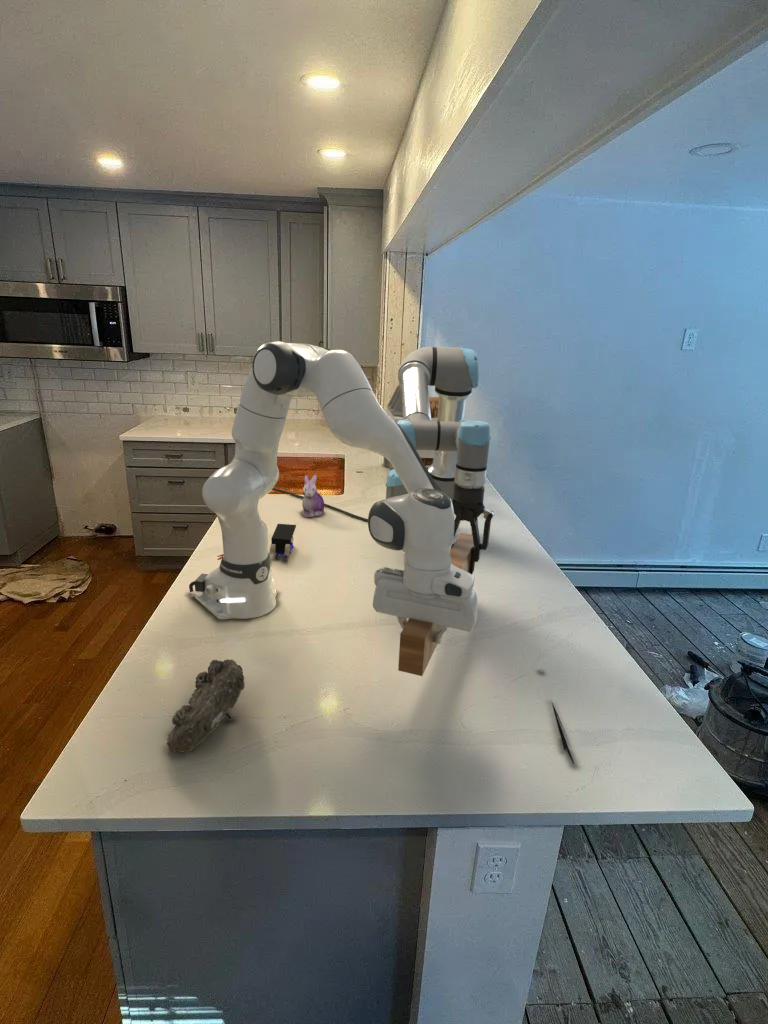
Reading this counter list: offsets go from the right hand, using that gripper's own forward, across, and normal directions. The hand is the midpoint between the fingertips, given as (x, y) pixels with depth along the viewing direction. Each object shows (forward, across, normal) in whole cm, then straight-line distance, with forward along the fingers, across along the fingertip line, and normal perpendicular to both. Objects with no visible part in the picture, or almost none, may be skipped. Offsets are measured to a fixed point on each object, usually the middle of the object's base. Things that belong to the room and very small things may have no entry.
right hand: (461, 570), depth 147 cm
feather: (+12, +28, -34) cm, 45 cm away
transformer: (+12, -47, +123) cm, 132 cm away
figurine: (+12, -67, +49) cm, 84 cm away
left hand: (-3, +1, -39) cm, 39 cm away
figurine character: (+11, -59, +12) cm, 61 cm away
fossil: (+11, -34, -60) cm, 70 cm away
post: (+1, 0, -20) cm, 20 cm away
